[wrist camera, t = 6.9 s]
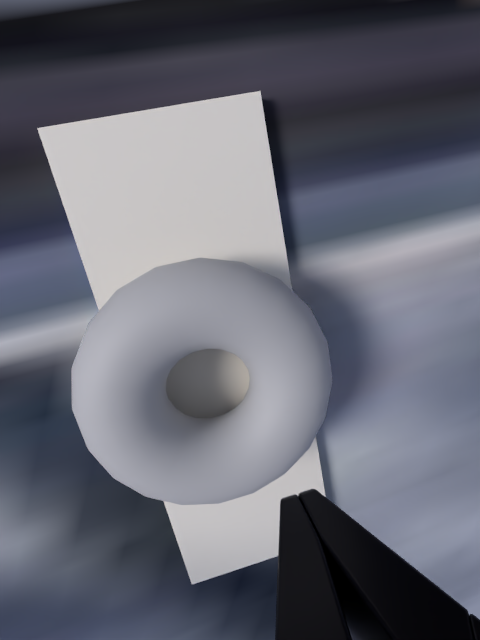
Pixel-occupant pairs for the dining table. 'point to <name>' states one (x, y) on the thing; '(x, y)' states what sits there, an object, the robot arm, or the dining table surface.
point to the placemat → (180, 245)
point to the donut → (176, 343)
